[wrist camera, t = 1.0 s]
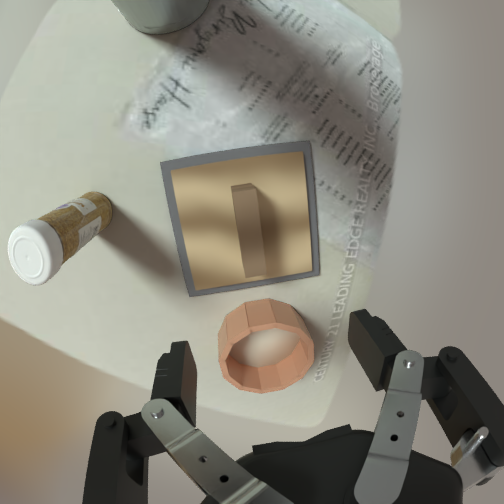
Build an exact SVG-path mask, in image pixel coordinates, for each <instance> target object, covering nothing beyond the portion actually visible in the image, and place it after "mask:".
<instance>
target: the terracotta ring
mask: <svg viewBox="0 0 504 504" xmlns="http://www.w3.org/2000/svg"><path fill="white" fill-rule="evenodd" d="M218 352H219V363H220V367H221V370H222V374H223V377H224V379H226V380H227V381H228V382H230V383H231V384H232V385H234V386H235V387H236V388H238V389H239V390H244V391H249V392H255V393H267V392H272V391H278V390H283V389H285V388H287V387H288V386H290V385H292V384H293V383H295V382H297V381H298V380H300V379H302V378H303V377H304V375H305V374H306V372H307V371H308V369H309V368H310V367H311V365H312V364H313V362H314V343H313V340H312V338H311V336H310V334H309V332H308V330H307V327H306V325H305V323H304V321H303V319H302V318H301V317H300V315H299V314H298V313H297V312H296V311H295V310H294V308H293V307H292V306H291V305H289V304H286V303H283V302H279V301H276V300H273V299H269V298H268V299H263V300H257V301H251V302H245V303H243V304H242V305H241V306H239V307H238V308H236V309H235V310H234V311H232V312H231V313H229V314H228V315H226V317H225V319H224V321H223V324H222V326H221V328H220V330H219V333H218Z"/></svg>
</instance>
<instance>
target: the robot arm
mask: <svg viewBox="0 0 504 504" xmlns="http://www.w3.org/2000/svg"><path fill="white" fill-rule="evenodd" d="M111 1H112V2H113V3H114V5H115V6H116V7H117V8H118V10H119V11H120V12H121V14H122V15H123V16H124V17H125V19H126V20H127V21H128V22H129V24H130V25H131V26H132V27H134V28H135V29H136V30H139V31H141V32H144V33H149V34H164V33H170V32H173V31H177V30H180V29H182V28H184V27H186V26H188V25H189V24H191V23H192V22H194V21H195V20H196V19H197V18H199V17H200V16H201V15H202V13H203V12H204V11H205V9H206V7H207V5H208V3H209V0H111ZM348 341H349V345H350V347H351V349H352V351H353V352H354V354H355V356H356V357H357V359H358V361H359V363H360V364H361V366H362V368H363V369H364V371H365V373H366V375H367V376H368V378H369V380H370V382H371V383H372V385H373V387H374V388H375V390H376V391H380V390H383V389H384V390H385V392H386V394H385V398H384V401H383V404H382V408H381V411H380V415H379V418H378V421H377V424H376V427H375V430H374V432H371V431H366V430H352V429H351V427H350V424H348V425H345V426H341V427H337V428H334V429H330V430H327V431H325V432H323V433H321V434H319V435H317V436H315V437H313V438H311V439H308V440H306V441H303V442H272V443H266V444H260V445H254V446H252V448H253V452H251V453H249V454H247V455H245V456H243V457H241V458H239V459H238V460H237V461H234V460H233V459H232V458H230V457H229V456H228V455H227V454H226V453H225V452H224V451H222V450H221V449H220V448H219V447H218V446H217V445H216V444H215V443H214V442H213V441H211V440H210V439H209V438H208V437H207V436H206V435H205V434H204V433H203V432H202V431H201V430H199V429H195V427H196V391H197V369H196V364H195V361H194V358H193V355H192V352H191V349H190V346H189V343H188V341H179V342H172V344H171V350H170V353H164V354H163V355H162V356H161V357H160V359H159V360H158V363H157V368H156V370H157V371H156V373H155V379H154V384H153V389H152V395H151V400H150V401H149V402H147V403H146V404H145V405H144V406H143V408H142V411H141V412H139V413H136V414H133V415H130V416H126V417H123V416H122V415H121V414H120V413H118V412H115V411H110V412H106V413H104V414H102V415H101V416H100V417H99V418H98V420H97V422H96V426H95V431H94V435H93V440H92V445H91V451H90V456H89V461H88V468H87V473H86V480H85V487H84V494H83V502H82V504H148V460H149V456H153V455H156V454H159V453H163V452H167V453H168V454H169V455H170V457H171V458H172V459H173V460H174V461H175V462H176V464H177V465H178V466H179V467H180V468H181V469H182V470H183V471H184V472H185V473H186V474H187V476H188V477H189V478H190V479H191V480H192V481H193V482H194V483H195V484H196V486H197V487H198V488H199V489H200V490H201V491H202V492H203V493H204V494H205V495H206V498H205V499H204V500H203V501H202V503H201V504H463V503H462V499H463V498H462V497H463V492H465V491H466V490H468V489H470V488H471V487H473V486H474V485H483V484H485V483H487V482H488V481H489V480H490V479H491V478H493V477H494V476H495V475H496V474H497V473H498V472H499V471H501V470H502V469H503V468H504V405H503V404H502V403H501V401H500V400H499V398H498V397H497V395H496V394H495V393H494V391H493V390H492V389H491V387H490V386H489V385H488V383H487V382H486V381H485V379H484V378H483V377H482V376H481V375H480V373H479V372H478V370H477V369H476V368H475V367H474V365H473V364H472V363H471V362H470V361H469V359H468V358H467V357H466V356H465V354H464V353H463V352H462V351H461V350H460V349H458V348H456V347H452V346H448V347H444V348H442V349H441V350H440V352H439V355H438V356H434V357H422V356H421V354H419V353H418V352H416V351H412V350H407V349H406V347H405V346H404V345H403V344H402V342H401V341H400V340H399V339H398V337H397V336H396V335H395V334H394V333H393V331H392V330H391V329H390V328H389V326H388V325H387V324H386V322H385V321H384V320H382V319H380V318H379V317H377V316H374V317H372V316H371V315H370V314H369V312H368V311H367V310H366V309H362V310H358V311H354V312H351V313H350V319H349V331H348ZM424 399H426V401H427V402H428V404H429V406H430V407H431V409H432V411H433V413H434V414H435V416H436V418H437V420H438V421H439V423H440V425H441V426H442V428H443V430H444V432H445V434H446V436H447V438H448V439H449V441H450V443H451V445H452V447H453V449H452V451H451V457H450V458H451V465H452V466H450V465H448V464H446V463H443V462H441V461H438V460H435V459H433V458H430V457H428V456H426V455H423V454H421V453H418V452H416V451H414V450H412V449H411V448H412V444H413V440H414V435H415V431H416V426H417V421H418V416H419V410H420V404H421V400H424Z"/></svg>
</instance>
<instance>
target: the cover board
mask: <svg viewBox="0 0 504 504" xmlns="http://www.w3.org/2000/svg"><path fill="white" fill-rule="evenodd" d="M171 176H172V182H173V187H174V193H175V198H176V203H177V208H178V213H179V218H180V223H181V228H182V233H183V237H184V242H185V247H186V251H187V256H188V260H189V264H190V269H191V273H192V277H193V281H194V286H195V290H202V289H208V288H215V287H221V286H227V285H233V284H239V283H245V282H251V281H257V280H263V279H269V278H275V277H281V276H286V275H292V274H297V273H303V272H308V271H312V257H311V241H310V226H309V212H308V200H307V188H306V178H305V168H304V158H303V151H299V152H289V153H279V154H271V155H262V156H255V157H247V158H240V159H233V160H227V161H220V162H214V163H208V164H202V165H197V166H191V167H186V168H181V169H175V170H171Z"/></svg>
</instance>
